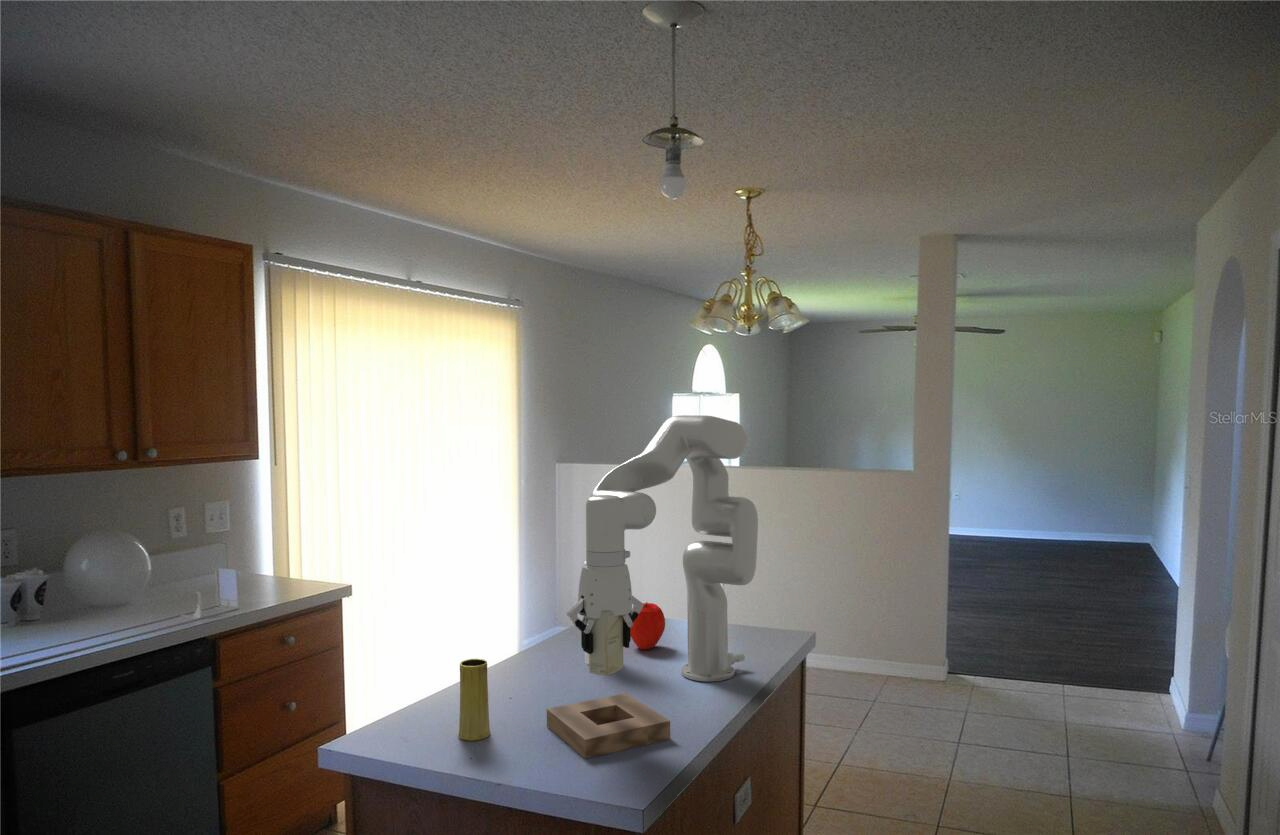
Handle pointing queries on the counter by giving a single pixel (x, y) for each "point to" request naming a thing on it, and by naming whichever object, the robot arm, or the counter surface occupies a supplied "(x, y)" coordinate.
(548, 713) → the docking block
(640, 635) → the apple
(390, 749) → the counter surface
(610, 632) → the skincare box
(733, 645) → the counter surface
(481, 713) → the vase
